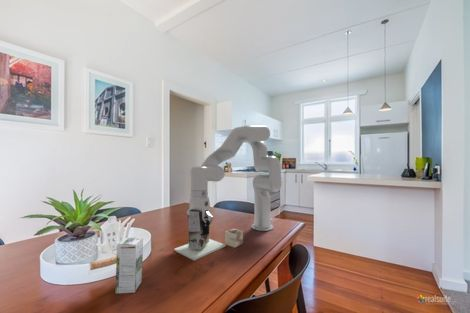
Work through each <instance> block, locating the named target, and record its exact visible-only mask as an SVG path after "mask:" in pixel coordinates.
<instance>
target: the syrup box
mask: <svg viewBox="0 0 470 313" xmlns="http://www.w3.org/2000/svg"><path fill="white" fill-rule="evenodd" d="M143 253H144V238H143V237H125V238H124V239H123V240H121V241H120V243H118V244H117V245H116V260H115V261H116V263H115V264H116V265H115V266H116V267H115V269H116V270H115V289H114V290H115V292H114V293H115V294H119V295H120V294H130V293H131V294H132V293H133V294H134V293H136V291H137V290H138V288H139V287H140V285H141V284H142V282H143V261H144V260H143V258H144V257H143V256H144V255H143Z"/></svg>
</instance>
